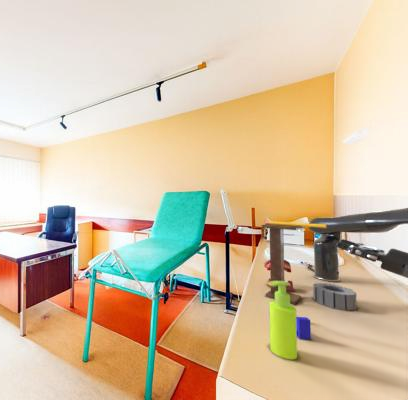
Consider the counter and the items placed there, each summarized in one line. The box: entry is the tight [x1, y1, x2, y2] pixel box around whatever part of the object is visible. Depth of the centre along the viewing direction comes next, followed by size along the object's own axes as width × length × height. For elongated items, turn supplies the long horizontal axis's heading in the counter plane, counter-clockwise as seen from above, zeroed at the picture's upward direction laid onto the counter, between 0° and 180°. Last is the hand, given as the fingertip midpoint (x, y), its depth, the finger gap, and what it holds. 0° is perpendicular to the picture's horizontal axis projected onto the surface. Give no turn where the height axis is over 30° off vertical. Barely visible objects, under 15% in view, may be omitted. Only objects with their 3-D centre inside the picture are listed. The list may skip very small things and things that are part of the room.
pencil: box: [264, 220, 327, 228], centre depth 91 cm, size 20×1×1 cm, turn 36°
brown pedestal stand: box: [261, 223, 304, 306], centre depth 94 cm, size 12×10×32 cm
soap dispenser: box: [266, 280, 298, 360], centre depth 61 cm, size 6×7×20 cm
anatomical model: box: [263, 259, 294, 293], centre depth 104 cm, size 10×8×15 cm
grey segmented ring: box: [312, 282, 357, 311], centre depth 88 cm, size 12×12×6 cm
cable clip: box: [296, 316, 312, 340], centre depth 72 cm, size 12×4×6 cm, turn 168°
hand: (337, 242), depth 80 cm, fingers open, 8 cm apart
